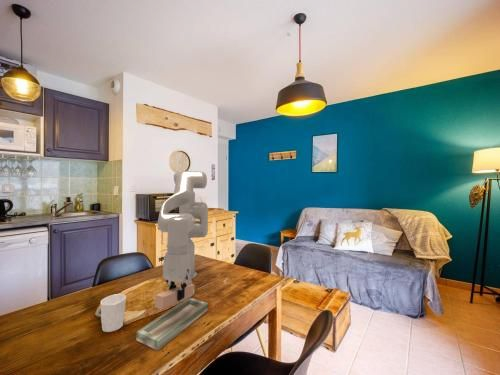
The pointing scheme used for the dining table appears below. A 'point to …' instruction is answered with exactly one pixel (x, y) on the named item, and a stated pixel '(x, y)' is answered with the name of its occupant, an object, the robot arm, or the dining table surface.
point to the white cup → (112, 312)
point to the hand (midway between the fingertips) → (176, 297)
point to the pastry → (98, 311)
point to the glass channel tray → (171, 323)
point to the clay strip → (172, 296)
